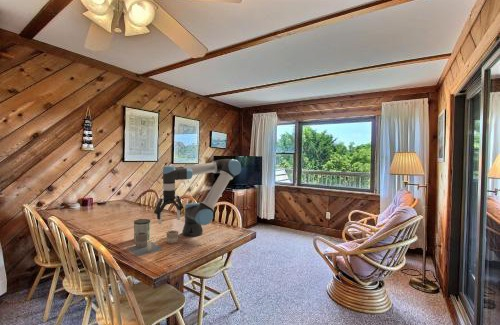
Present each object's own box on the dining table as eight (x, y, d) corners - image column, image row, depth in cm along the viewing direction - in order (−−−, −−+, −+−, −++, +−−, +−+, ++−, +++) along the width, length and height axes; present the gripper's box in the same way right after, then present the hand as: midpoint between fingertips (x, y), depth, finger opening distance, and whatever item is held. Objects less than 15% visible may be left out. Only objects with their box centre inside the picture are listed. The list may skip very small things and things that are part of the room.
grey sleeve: (141, 243, 167) (141, 231, 167) (149, 245, 165) (149, 232, 164) (133, 246, 161) (133, 234, 161) (141, 248, 158) (141, 235, 158)
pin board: (151, 243, 171) (152, 233, 170) (164, 251, 158) (164, 240, 157) (126, 249, 160) (126, 238, 159) (137, 258, 147) (137, 246, 146)
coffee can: (131, 240, 175) (131, 220, 175) (146, 237, 182) (147, 218, 182) (136, 245, 168) (136, 223, 167) (152, 241, 175) (152, 221, 174)
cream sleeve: (174, 241, 176) (174, 230, 176) (179, 244, 171) (179, 232, 171) (165, 243, 171) (165, 231, 171) (169, 246, 166) (170, 234, 166)
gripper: (182, 187, 179) (182, 217, 180) (148, 191, 161) (148, 224, 162) (188, 188, 174) (188, 219, 176) (154, 192, 156) (154, 227, 157)
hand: (169, 221), depth 169 cm, fingers open, 13 cm apart
